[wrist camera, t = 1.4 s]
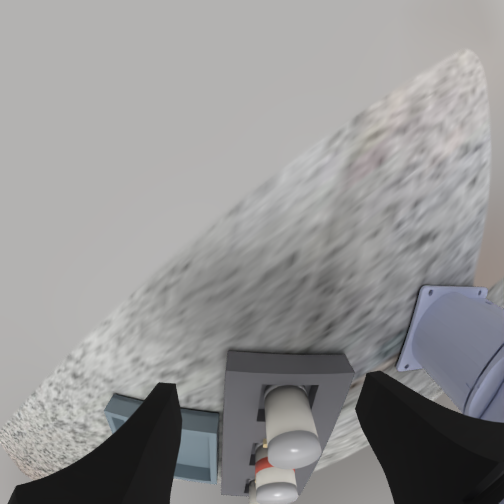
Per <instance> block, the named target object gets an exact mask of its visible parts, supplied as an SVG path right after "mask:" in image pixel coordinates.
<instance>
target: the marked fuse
mask: <svg viewBox="0 0 504 504" xmlns="http://www.w3.org/2000/svg"><path fill="white" fill-rule="evenodd" d="M255 477H256V501H257V502H258V503H259V504H289V503H291V502H294V501H295V500H296V499H297V498H298V492H297V486H296V479H295V469H280V468H277V467H274V466H272V465H271V464H270V463H269V461H268V451H267V448H263V443H255Z"/></svg>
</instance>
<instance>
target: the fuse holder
mask: <svg viewBox="0 0 504 504" xmlns="http://www.w3.org/2000/svg"><path fill="white" fill-rule="evenodd" d="M354 374H355V372H354V370H353V368H352V366H351V365H350V363H349V361H348V359H347V357H346V356H345V354H344V355H291V354H266V353H249V352H236V351H228V356H227V363H226V372H225V393H224V416H223V444H222V480H221V494H222V495H231V496H249V479H255V483H256V477H255V443H263V448H267V436H266V421H265V406H264V389H265V387H266V386H267V385H304V386H305V390H306V393H307V397H308V401H309V405H310V408H311V412H312V416H313V420H314V424H315V427H316V431H317V435H318V439H319V443H320V447H321V451H322V453H323V450H324V448H325V446H326V444H327V442H328V440H329V438H330V435H331V433H332V431H333V428H334V426H335V424H336V421H337V419H338V417H339V414H340V412H341V409H342V407H343V404H344V402H345V399H346V396H347V394H348V391H349V388H350V385H351V383H352V380H353V377H354ZM322 453H321V455H322ZM320 457H321V456H320ZM320 457H319V458H318V459H317V460H316V461H315V462H313V463H312V464H310V465H307V466H305V467H301V468H297V469H295V479H296V486H297V492H298V495H300V494H301V492H302V491H303V489H304V487H305V485H306V483H307V482H308V480H309V478H310V476H311V474H312V472H313V470H314V469H315V467H316V465H317V463H318V461H319V459H320Z"/></svg>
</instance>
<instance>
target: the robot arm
mask: <svg viewBox="0 0 504 504" xmlns="http://www.w3.org/2000/svg"><path fill="white" fill-rule="evenodd" d="M430 290H431V291H430ZM429 291H430V293H429ZM487 293H488V289H487V288H486V287H466V286H432V285H425V286H423V287H422V288H421V289H420V292H419V296H418V300H417V304H416V308H415V311H414V315H413V318H412V322H411V325H410V328H409V331H408V334H407V337H406V340H405V343H404V346H403V349H402V352H401V355H400V357H399V360H398V363H397V365H396V369H397V370H398V371H408V370H415V369H421V368H424V369H425V370H426V372H427V373H428V374H429V375H430V376H431V377H432V378H433V379H434V381H435V382H436V383H437V384H438V385H439V386H440V387H441V389H442V390H443V391H444V392H445V393H446V394H447V396H448V397H449V398H450V399H451V400H452V401H453V403H454V404H455V405H456V406H457V407H458V409H459V410H460V411H461V412H462V414H461V413H458V412H455V411H453V410H450V409H448V408H445V407H443V406H441V405H439V404H437V403H435V402H433V401H431V400H429V399H427V398H425V397H424V396H422V395H420V394H418V393H417V392H415V391H413V390H412V389H410V388H408V387H407V386H405V385H403V384H402V383H400V382H398V381H397V380H395V379H394V378H392V377H390V376H389V375H387V374H385V373H383V372H381V371H375V372H370V373H367V374H366V378H365V381H364V384H363V387H362V390H361V393H360V396H359V399H358V402H357V405H356V408H355V410H356V413H357V416H358V419H359V422H360V425H361V428H362V430H363V432H364V434H365V436H366V438H367V440H368V442H369V443H370V445H371V447H372V449H373V451H374V453H375V455H376V456H377V459H378V460H379V462H380V464H381V466H382V468H383V470H384V473H385V475H386V478H387V481H388V484H389V487H390V489H391V493H392V496H393V500H394V503H395V504H504V308H502V307H500V306H498V305H497V304H495V303H493V302H491V301H489V300H487V299H486V296H487ZM182 421H183V420H182V415H181V410H180V405H179V400H178V394H177V389H176V384H173V383H160V382H159V383H158V384H157V385H156V386H155V388H154V389H153V390H152V391H151V393H150V394H149V395H148V396H147V398H146V399H145V400H144V401H143V403H142V404H141V405H140V406H139V407H138V408H137V410H136V411H135V412H134V413H133V414H132V415H131V416H130V417H129V418H128V420H127V421H126V422H125V423H124V424H123V425H122V426H121V427H120V428H119V429H118V430H116V431H115V432H114V433H113V434H112V435H111V436H110V437H109V438H108V439H107V440H106V441H104V442H103V443H102V444H101V445H99V446H98V447H97V448H96V449H94V450H93V451H92V452H90V453H89V454H87V455H86V456H84V457H83V458H81V459H80V460H78V461H77V462H75V463H73V464H71V465H70V466H68V467H66V468H64V469H62V470H60V471H58V472H55V473H53V474H51V475H49V476H46V477H44V478H41V479H38V480H35V481H32V482H29V483H25V484H21V485H17V486H16V488H15V489H14V491H13V493H12V495H11V498H10V500H9V502H8V504H170V493H171V487H172V482H173V477H174V473H175V468H176V463H177V458H178V453H179V449H180V444H181V434H182Z"/></svg>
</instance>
